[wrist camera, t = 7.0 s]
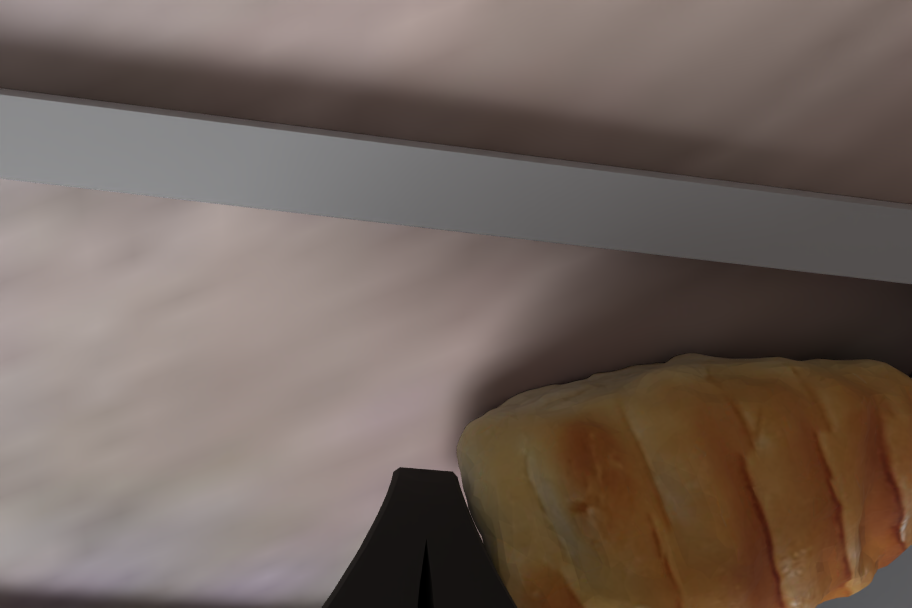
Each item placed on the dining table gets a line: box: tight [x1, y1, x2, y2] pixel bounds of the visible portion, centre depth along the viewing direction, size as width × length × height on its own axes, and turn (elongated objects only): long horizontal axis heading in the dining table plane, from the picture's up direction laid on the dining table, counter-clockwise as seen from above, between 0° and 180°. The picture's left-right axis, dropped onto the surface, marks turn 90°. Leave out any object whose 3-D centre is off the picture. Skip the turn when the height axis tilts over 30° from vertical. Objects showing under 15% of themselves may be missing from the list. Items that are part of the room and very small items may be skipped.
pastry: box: [457, 353, 912, 608], centre depth 10 cm, size 9×7×4 cm
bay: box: [0, 88, 912, 608], centre depth 10 cm, size 13×23×3 cm, turn 83°
